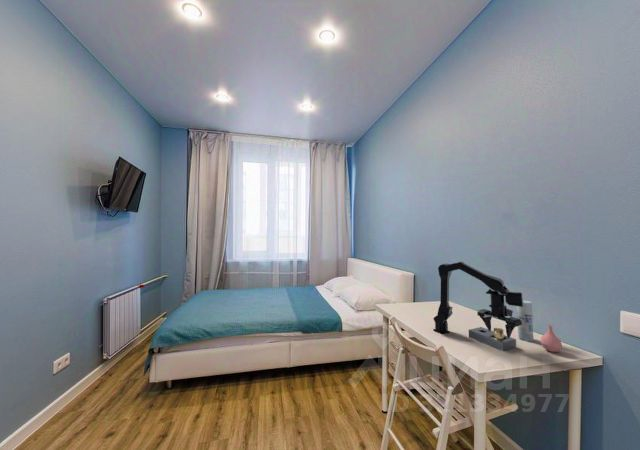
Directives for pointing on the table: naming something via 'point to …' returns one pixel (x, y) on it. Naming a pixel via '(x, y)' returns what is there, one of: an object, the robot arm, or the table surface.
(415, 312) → the table surface
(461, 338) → the table surface
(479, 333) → the manifold plate
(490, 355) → the table surface
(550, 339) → the pink teardrop bulb
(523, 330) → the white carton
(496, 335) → the brass fitting
